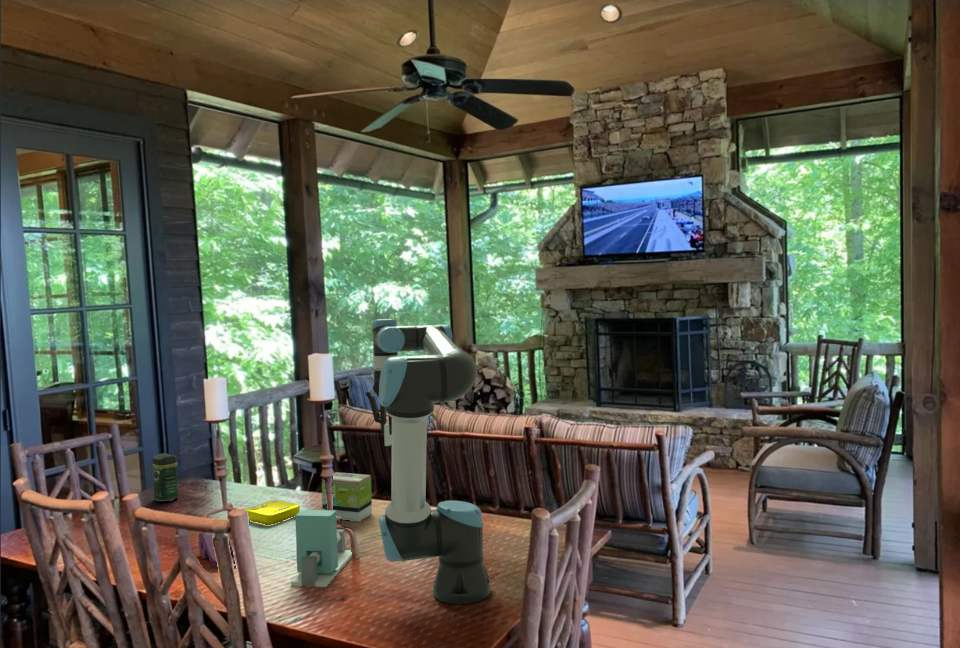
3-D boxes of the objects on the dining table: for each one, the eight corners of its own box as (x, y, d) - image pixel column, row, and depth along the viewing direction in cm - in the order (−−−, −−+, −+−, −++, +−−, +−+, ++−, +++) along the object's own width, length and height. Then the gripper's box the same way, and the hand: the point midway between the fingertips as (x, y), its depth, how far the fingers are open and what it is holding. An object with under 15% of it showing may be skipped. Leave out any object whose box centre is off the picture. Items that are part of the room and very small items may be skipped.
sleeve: (304, 565, 194) (302, 509, 194) (338, 566, 193) (336, 510, 192) (297, 572, 189) (295, 515, 189) (331, 573, 188) (329, 516, 187)
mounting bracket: (244, 580, 205) (228, 540, 218) (247, 559, 201) (231, 519, 214) (212, 588, 199) (197, 546, 212) (214, 566, 196) (199, 525, 209)
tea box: (321, 519, 242) (320, 478, 242) (336, 511, 252) (335, 471, 251) (359, 522, 237) (358, 480, 237) (372, 514, 247) (371, 473, 246)
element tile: (269, 528, 235) (268, 514, 235) (241, 521, 244) (240, 508, 243) (302, 516, 248) (301, 503, 248) (274, 510, 256) (274, 497, 256)
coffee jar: (181, 499, 272) (180, 453, 271) (161, 504, 266) (160, 457, 265) (170, 495, 278) (168, 450, 277) (151, 500, 272) (149, 454, 271)
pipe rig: (324, 553, 209) (323, 528, 209) (355, 553, 208) (354, 528, 207) (290, 586, 185) (289, 558, 185) (325, 587, 184) (325, 559, 183)
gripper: (409, 367, 213) (411, 442, 213) (369, 368, 214) (371, 442, 215) (403, 370, 205) (405, 447, 206) (361, 370, 207) (364, 447, 208)
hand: (388, 444), depth 211 cm, fingers closed
